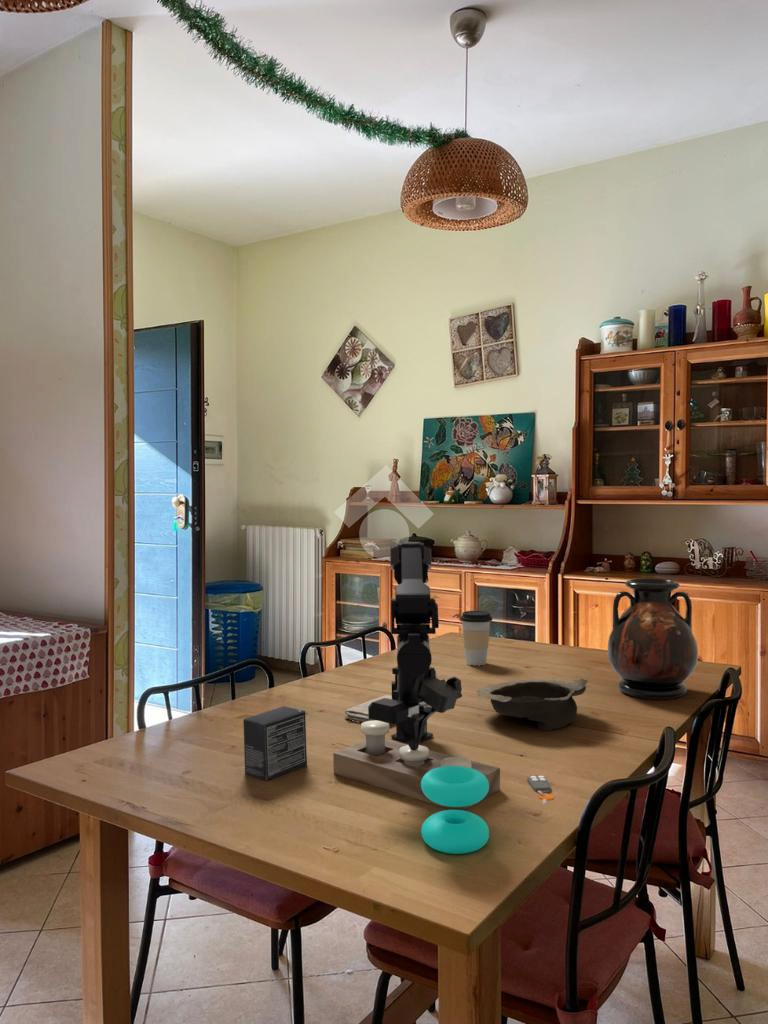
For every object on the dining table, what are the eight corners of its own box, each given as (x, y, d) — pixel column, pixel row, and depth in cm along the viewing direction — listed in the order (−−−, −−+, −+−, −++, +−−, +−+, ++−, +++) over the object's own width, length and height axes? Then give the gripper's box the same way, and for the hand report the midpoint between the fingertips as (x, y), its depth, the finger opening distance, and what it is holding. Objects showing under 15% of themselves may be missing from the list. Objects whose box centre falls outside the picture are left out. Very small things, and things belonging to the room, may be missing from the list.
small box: (284, 758, 153) (283, 704, 153) (308, 765, 149) (307, 710, 149) (242, 773, 145) (241, 717, 145) (266, 782, 141) (265, 723, 141)
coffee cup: (455, 661, 235) (455, 611, 234) (484, 659, 237) (484, 609, 237) (468, 668, 226) (467, 616, 225) (498, 665, 228) (497, 614, 228)
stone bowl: (594, 738, 163) (591, 693, 162) (473, 740, 168) (469, 697, 167) (588, 703, 187) (585, 664, 187) (482, 706, 192) (479, 668, 192)
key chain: (524, 782, 141) (524, 774, 141) (545, 781, 141) (545, 773, 141) (541, 812, 128) (541, 803, 128) (564, 811, 128) (564, 802, 128)
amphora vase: (684, 682, 208) (684, 576, 207) (709, 704, 187) (710, 586, 186) (600, 680, 210) (600, 576, 209) (616, 703, 189) (616, 586, 188)
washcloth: (341, 721, 178) (341, 708, 178) (385, 703, 193) (385, 690, 193) (385, 730, 171) (385, 716, 171) (428, 710, 186) (427, 697, 186)
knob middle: (411, 771, 144) (411, 742, 144) (434, 777, 141) (434, 748, 141) (393, 779, 140) (393, 750, 140) (417, 786, 137) (416, 756, 137)
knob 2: (452, 784, 139) (452, 754, 138) (477, 791, 135) (477, 761, 135) (435, 793, 134) (434, 763, 134) (460, 800, 131) (460, 769, 131)
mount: (375, 755, 154) (375, 736, 154) (500, 789, 136) (499, 768, 136) (333, 773, 145) (333, 752, 145) (461, 812, 127) (460, 789, 127)
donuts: (502, 774, 117) (458, 793, 110) (503, 841, 117) (459, 864, 110) (451, 758, 124) (406, 775, 117) (451, 821, 124) (407, 841, 117)
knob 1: (373, 745, 150) (373, 718, 150) (395, 751, 147) (394, 723, 146) (355, 753, 146) (355, 725, 146) (377, 759, 143) (376, 730, 142)
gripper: (417, 679, 128) (418, 775, 128) (480, 659, 142) (481, 744, 143) (365, 669, 135) (366, 760, 135) (430, 651, 149) (431, 732, 150)
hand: (414, 749), depth 140 cm, fingers closed, pressing on knob middle
